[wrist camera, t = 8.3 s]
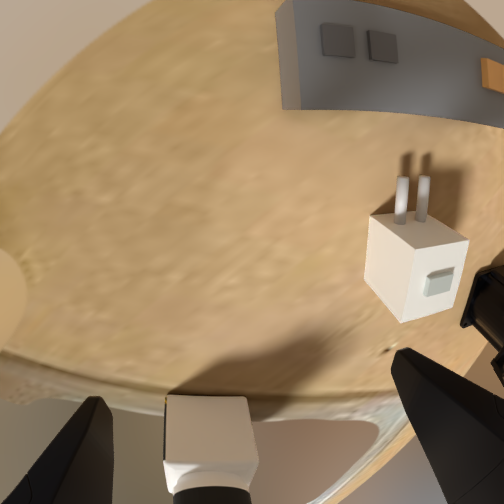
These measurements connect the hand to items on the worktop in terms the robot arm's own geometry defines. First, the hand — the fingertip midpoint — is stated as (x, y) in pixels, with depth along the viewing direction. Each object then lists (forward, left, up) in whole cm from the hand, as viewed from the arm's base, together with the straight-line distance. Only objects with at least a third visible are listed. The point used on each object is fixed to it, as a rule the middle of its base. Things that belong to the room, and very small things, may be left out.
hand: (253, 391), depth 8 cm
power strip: (+10, -12, -12) cm, 20 cm away
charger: (-1, -12, -12) cm, 17 cm away
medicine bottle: (-18, +4, -12) cm, 22 cm away
